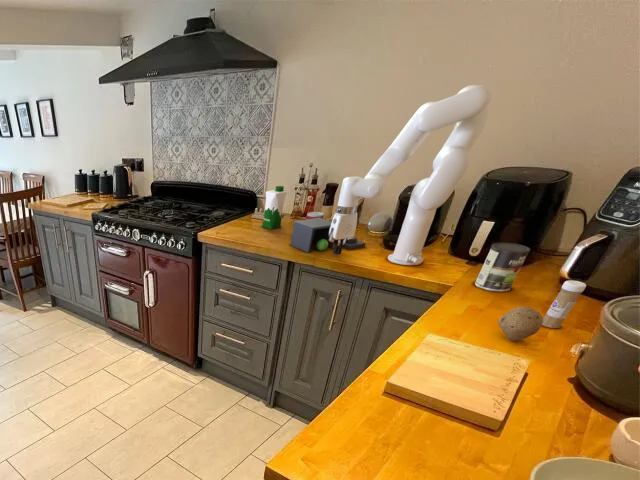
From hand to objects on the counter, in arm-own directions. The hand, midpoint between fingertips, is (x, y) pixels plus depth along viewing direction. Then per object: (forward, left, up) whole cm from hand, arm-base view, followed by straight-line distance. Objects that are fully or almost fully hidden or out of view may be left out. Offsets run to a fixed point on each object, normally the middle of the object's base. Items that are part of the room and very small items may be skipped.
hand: (336, 253), depth 181 cm
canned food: (+31, -2, -1) cm, 31 cm away
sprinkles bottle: (-72, -31, -1) cm, 79 cm away
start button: (+14, -12, +2) cm, 18 cm away
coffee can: (-42, -37, -1) cm, 56 cm away
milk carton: (+53, +11, -1) cm, 54 cm away
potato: (-78, -14, -1) cm, 79 cm away
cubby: (+15, +5, -1) cm, 16 cm away
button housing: (+14, -12, -1) cm, 18 cm away
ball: (+9, +3, +1) cm, 10 cm away
